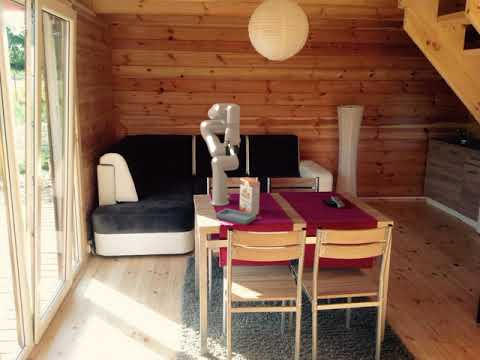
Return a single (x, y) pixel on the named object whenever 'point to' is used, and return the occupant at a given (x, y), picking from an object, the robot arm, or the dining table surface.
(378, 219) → the dining table surface
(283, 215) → the dining table surface
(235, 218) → the tray
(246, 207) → the cracker box
